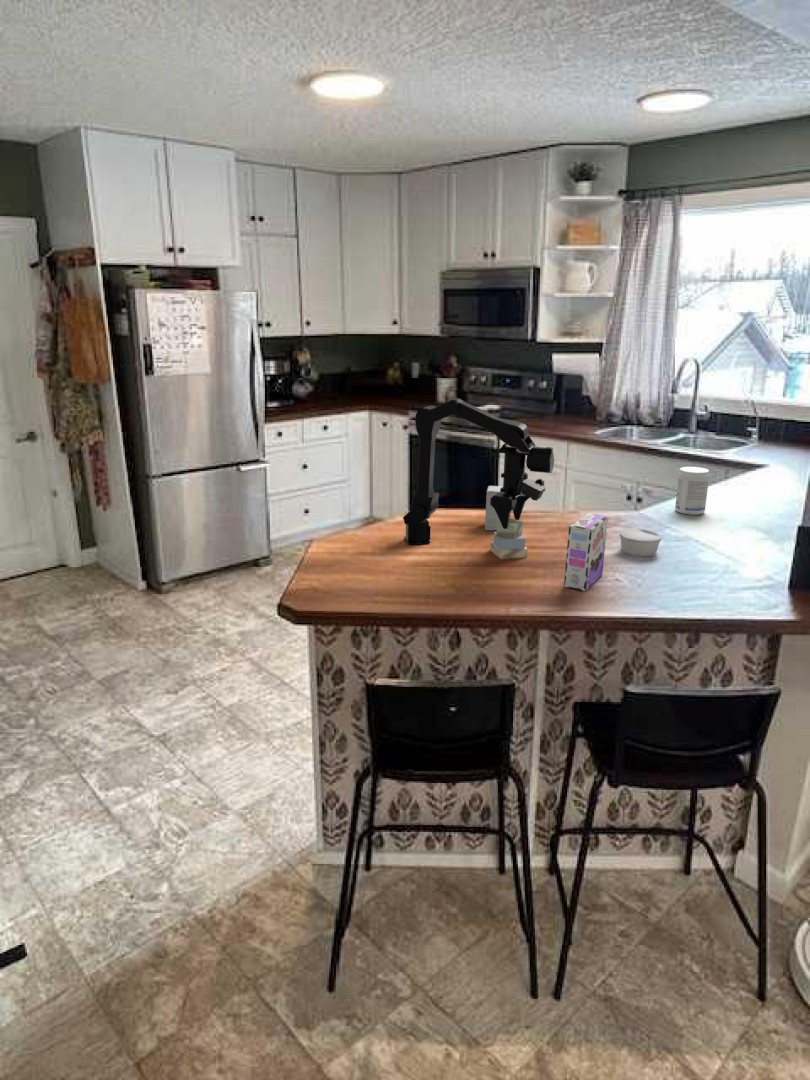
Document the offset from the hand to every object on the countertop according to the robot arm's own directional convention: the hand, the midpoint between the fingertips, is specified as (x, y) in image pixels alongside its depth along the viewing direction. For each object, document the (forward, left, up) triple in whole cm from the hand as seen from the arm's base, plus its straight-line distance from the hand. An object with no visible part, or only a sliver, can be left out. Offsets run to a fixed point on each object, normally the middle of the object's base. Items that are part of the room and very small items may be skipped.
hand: (511, 524), depth 206 cm
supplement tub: (+75, +28, -9) cm, 81 cm away
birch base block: (0, 0, -9) cm, 9 cm away
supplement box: (+5, +24, -9) cm, 26 cm away
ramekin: (+37, -6, -9) cm, 39 cm away
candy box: (+11, -24, -9) cm, 28 cm away
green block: (0, 0, -3) cm, 3 cm away
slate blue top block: (0, 0, -6) cm, 6 cm away
